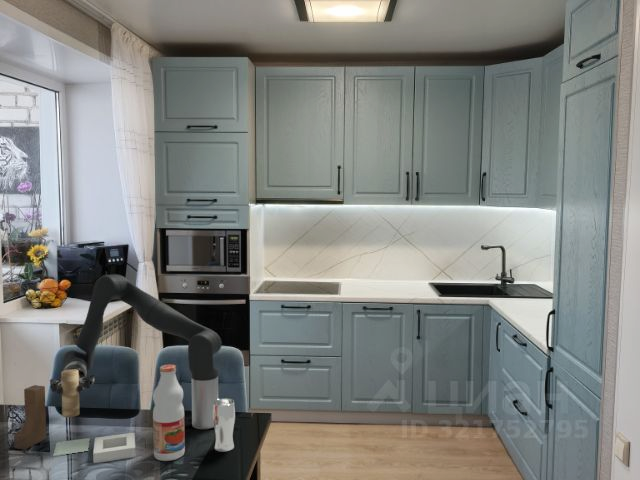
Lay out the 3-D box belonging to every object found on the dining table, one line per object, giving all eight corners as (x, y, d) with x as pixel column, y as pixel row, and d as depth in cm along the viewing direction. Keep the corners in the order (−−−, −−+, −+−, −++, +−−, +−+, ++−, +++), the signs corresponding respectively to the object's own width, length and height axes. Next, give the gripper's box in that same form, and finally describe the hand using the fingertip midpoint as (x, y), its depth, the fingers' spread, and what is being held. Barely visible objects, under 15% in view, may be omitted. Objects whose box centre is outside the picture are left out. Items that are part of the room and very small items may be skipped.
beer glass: (239, 444, 175) (238, 399, 174) (228, 453, 169) (228, 407, 168) (220, 441, 178) (219, 397, 177) (209, 450, 171) (208, 404, 170)
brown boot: (25, 450, 171) (23, 394, 170) (13, 448, 173) (12, 393, 172) (46, 438, 180) (45, 385, 179) (36, 437, 181) (34, 384, 180)
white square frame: (134, 441, 178) (134, 432, 178) (135, 457, 167) (135, 447, 166) (95, 446, 174) (95, 437, 174) (93, 463, 163) (93, 453, 162)
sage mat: (89, 439, 180) (89, 437, 180) (88, 451, 170) (88, 450, 170) (56, 443, 176) (56, 442, 176) (53, 456, 167) (53, 455, 167)
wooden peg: (80, 410, 176) (79, 368, 175) (78, 416, 171) (77, 372, 170) (63, 412, 174) (62, 370, 173) (61, 418, 169) (60, 374, 169)
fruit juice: (167, 446, 174) (165, 360, 173) (191, 451, 171) (189, 364, 169) (147, 458, 166) (145, 368, 164) (171, 464, 162) (170, 372, 160)
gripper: (50, 366, 183) (44, 381, 167) (96, 362, 188) (94, 376, 172) (51, 387, 184) (44, 405, 168) (96, 383, 189) (94, 399, 173)
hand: (69, 390), depth 170 cm, fingers closed on wooden peg, 5 cm apart
